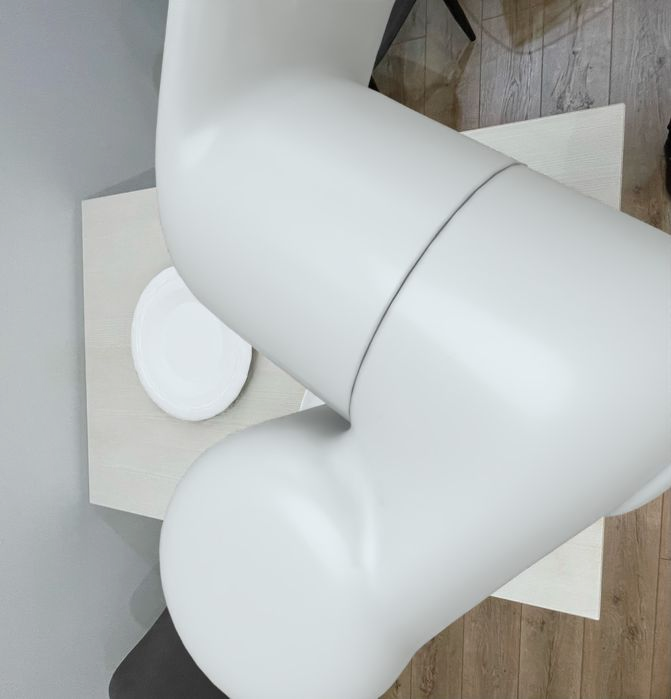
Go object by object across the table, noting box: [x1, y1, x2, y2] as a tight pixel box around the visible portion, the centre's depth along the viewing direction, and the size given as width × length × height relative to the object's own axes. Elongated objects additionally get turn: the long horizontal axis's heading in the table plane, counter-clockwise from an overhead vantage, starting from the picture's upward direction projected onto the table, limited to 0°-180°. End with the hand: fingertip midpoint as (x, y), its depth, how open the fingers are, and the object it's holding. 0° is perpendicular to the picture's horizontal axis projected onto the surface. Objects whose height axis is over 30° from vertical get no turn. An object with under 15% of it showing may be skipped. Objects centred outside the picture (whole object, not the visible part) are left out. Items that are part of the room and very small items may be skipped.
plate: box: [130, 265, 253, 422], centre depth 86 cm, size 25×25×2 cm
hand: (496, 405), depth 39 cm, fingers open, 5 cm apart
